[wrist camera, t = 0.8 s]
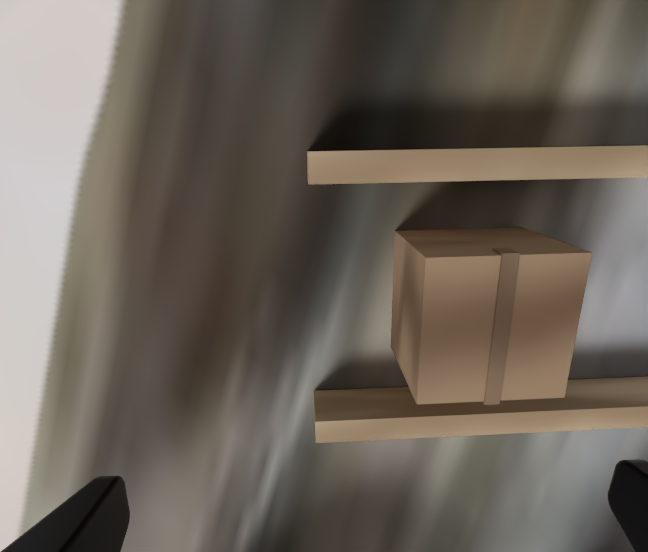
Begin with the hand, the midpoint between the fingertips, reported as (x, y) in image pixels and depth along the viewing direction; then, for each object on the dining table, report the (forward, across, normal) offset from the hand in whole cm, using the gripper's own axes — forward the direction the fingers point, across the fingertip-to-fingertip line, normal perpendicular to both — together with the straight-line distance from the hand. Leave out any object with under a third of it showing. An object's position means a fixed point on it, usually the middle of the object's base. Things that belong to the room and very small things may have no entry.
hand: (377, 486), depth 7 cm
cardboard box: (+13, -6, +1) cm, 14 cm away
